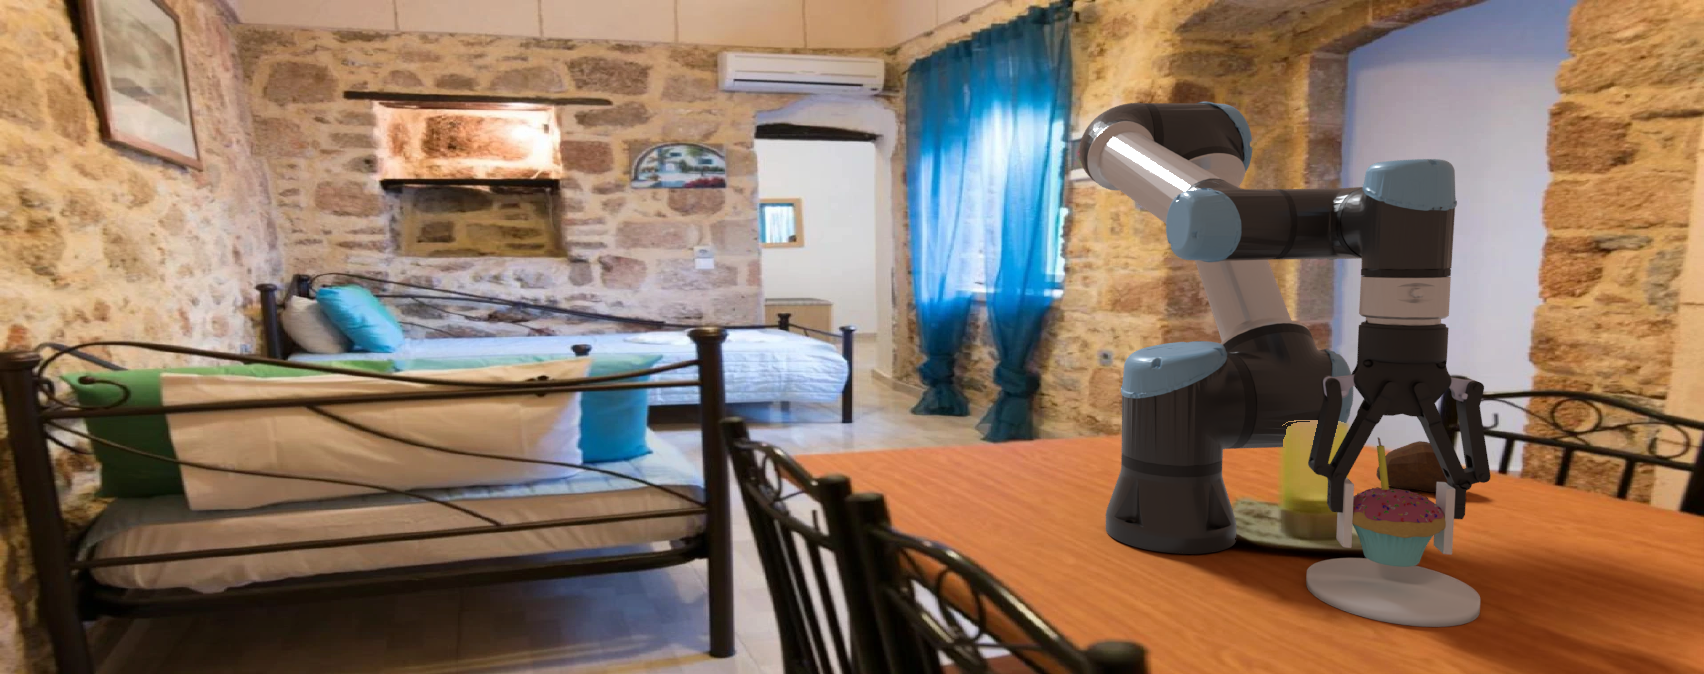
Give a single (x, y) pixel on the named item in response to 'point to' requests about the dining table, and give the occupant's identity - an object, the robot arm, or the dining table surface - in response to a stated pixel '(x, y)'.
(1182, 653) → the dining table surface
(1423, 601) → the plate
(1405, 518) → the cupcake
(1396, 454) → the potato
